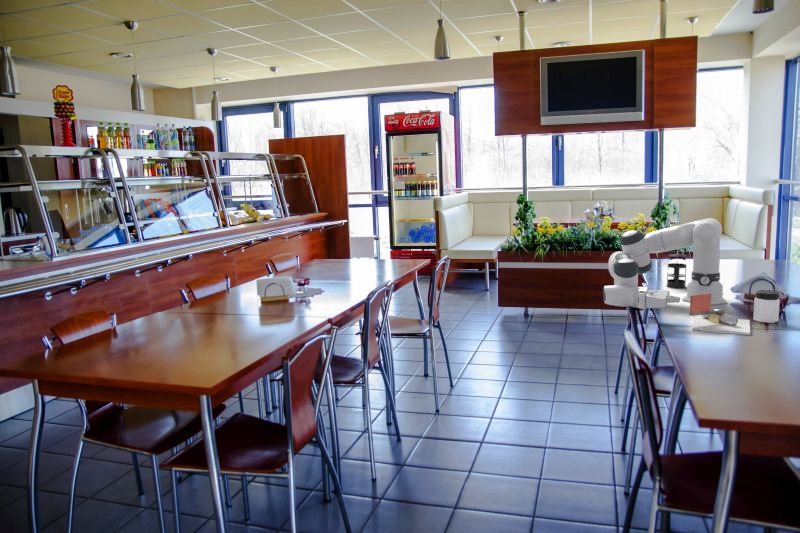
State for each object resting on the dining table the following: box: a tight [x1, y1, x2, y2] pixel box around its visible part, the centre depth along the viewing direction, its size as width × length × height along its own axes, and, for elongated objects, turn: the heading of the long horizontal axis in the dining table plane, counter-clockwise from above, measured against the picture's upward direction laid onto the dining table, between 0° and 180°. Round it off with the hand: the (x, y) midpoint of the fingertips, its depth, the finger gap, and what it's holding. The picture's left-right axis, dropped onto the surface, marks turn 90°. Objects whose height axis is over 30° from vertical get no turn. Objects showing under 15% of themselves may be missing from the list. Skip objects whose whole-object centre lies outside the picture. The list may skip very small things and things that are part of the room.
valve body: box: [700, 312, 739, 326], centre depth 254 cm, size 16×5×4 cm, turn 17°
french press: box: [666, 249, 688, 289], centre depth 332 cm, size 12×9×23 cm
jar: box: [752, 289, 781, 324], centre depth 257 cm, size 9×8×12 cm
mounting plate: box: [691, 315, 751, 336], centre depth 251 cm, size 22×20×1 cm
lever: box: [688, 294, 726, 317], centre depth 251 cm, size 16×4×8 cm, turn 107°
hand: (679, 299), depth 252 cm, fingers closed
